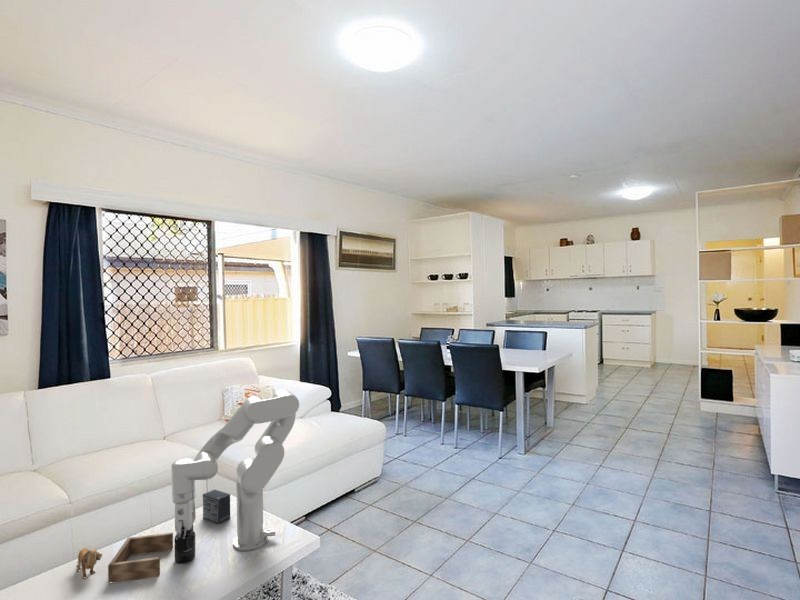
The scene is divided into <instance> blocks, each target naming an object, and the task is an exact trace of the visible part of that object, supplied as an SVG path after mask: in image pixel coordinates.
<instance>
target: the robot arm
mask: <svg viewBox="0 0 800 600" xmlns="http://www.w3.org/2000/svg"><path fill="white" fill-rule="evenodd" d="M299 408H300V400H299V399H298V397H297V396H296V395H295V394H293V393H292V392H291V391H289V390H288V389H284V388H283V389H278V390H277V391H276V392H275V393H274V394H273V396H272V397H271V398H268V399H262V398H261V397H259V396H250V397H248V398H247V399H245V400H244V401H243V403H242V404H241V405H240V406H239V407H238V408H237V410H236V411H235V413H233V415H232V416H231V417H230V418H229V420H228V421H227V422H226V423H225V425H223V427H221V428H220V429H219V430H218V431H217V432H216V433H215V434H214V435H212V436H211V438H209V440H207V442H206V443H205V444H204V445H203V446H202V447H201V448H200V450H199V451H198V453H197V454H196V456H195V457H194V460H193V458H180V459H178V460H175V461H174V462H173V463H172V464H171V468H170V469H171V472H170V473H171V498H172V499H171V500H172V503H173V504H174V530H175V533H176V534H177V535H176V534H175V536H176V546H177V551H179V550H186V549H187V537H186V530H190V529H191V527H192V528H193V529H194V523H195V521H196V518H197V517H196V505H195V503H196V502H195V501H196V500H195V498H196V481H206V480H207V481H208V480H211V479H212V478H214V477H215V476H216V475H217V474H218V471H219V465H218V459H219V458H220V456H221V455H222V454H223V453H224V451H226V450H227V449H228V448H229V447H230V446H231V445H234V444H237V443H239V442H241V441H242V440H244V438H245V437H246V436H247V434H248V433H249V432H250V431H251V429H252V428H253V427H254V426H255V424H256V425H257V424H260V425H261V424H264V423H269V422H270V423H269V425H268V426H267V427H266V429H265V430H264V431H263V433H262V434H261V436H260V437H259V439H258V440H257V441H256V442H255V445H254V453H255V458H253V457H248V458H244V459H243V460H241V461H240V462H239V463H238V464H237V467H236V469H235V475H234V477H235V486H236V527H237V528H236V531H237V534H236V537H235V538H234V539H233V542H232V546H233V548H234V549H235V550H237V551H242V552H243V551H244V552H245V551H247V550H248V551H253V550H257V549H259V548H261V547H263V546H264V545H265V544H266V543H267V542H268V540H269V539H268V537H275V536H276V530H273V527H272V528H266V527H265V526H266V525H265V524H264V492H263V491H264V490H263V489H264V488H265V487H266V486H267V484H268V483H270V480H271V479H272V477H273V476H274V474H275V473H276V471H277V470H278V468H279V467H280V465H281V464H282V463H283V459H284V457H285V448H284V446H283V444H284V442H285V441H286V439H287V437H289V434H290V432H291V431H292V429H293V427H294V424H295V420H296V413H298V410H299ZM182 528H185V529H182ZM182 532H184V535H183V533H182ZM267 539H268V540H267ZM266 541H267V542H266ZM265 542H266V543H265ZM264 543H265V544H264ZM263 544H264V545H263ZM260 546H261V547H260ZM258 547H259V548H258ZM256 548H257V549H256Z"/></svg>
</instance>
